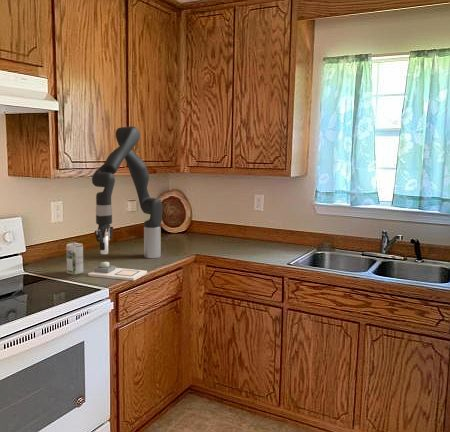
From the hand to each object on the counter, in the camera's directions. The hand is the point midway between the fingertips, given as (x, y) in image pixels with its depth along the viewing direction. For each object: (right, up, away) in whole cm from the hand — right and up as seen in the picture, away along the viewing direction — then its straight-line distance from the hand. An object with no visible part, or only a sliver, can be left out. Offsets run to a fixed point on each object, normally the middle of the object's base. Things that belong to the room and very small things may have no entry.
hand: (104, 248), depth 227 cm
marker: (0, -2, 0) cm, 2 cm away
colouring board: (+7, -12, 0) cm, 14 cm away
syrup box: (-15, -12, +2) cm, 19 cm away
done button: (0, -10, +1) cm, 10 cm away
